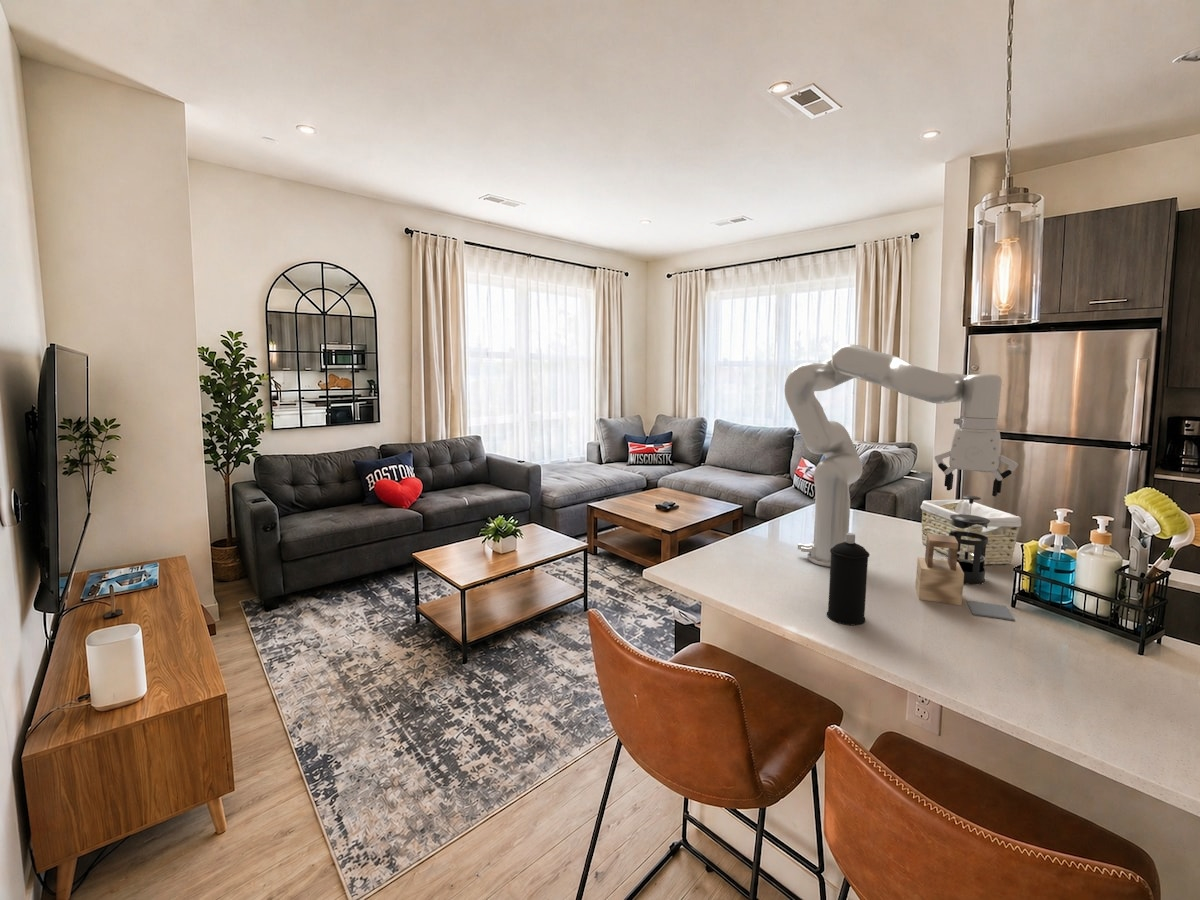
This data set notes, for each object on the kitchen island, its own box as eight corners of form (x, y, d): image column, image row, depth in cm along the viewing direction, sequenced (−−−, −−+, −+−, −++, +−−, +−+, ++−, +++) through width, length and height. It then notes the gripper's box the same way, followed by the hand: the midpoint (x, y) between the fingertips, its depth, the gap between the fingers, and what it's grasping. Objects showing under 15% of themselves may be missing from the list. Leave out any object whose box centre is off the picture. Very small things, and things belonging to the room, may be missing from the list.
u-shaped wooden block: (927, 567, 138) (929, 540, 137) (924, 559, 143) (926, 533, 142) (955, 570, 135) (958, 543, 134) (952, 563, 140) (954, 536, 139)
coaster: (972, 614, 129) (972, 613, 129) (966, 601, 136) (966, 600, 136) (1014, 620, 126) (1014, 619, 126) (1005, 607, 133) (1006, 605, 133)
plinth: (918, 599, 138) (921, 568, 137) (915, 586, 146) (917, 557, 145) (961, 605, 134) (964, 573, 133) (955, 591, 142) (958, 562, 141)
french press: (995, 585, 146) (1003, 500, 143) (958, 585, 146) (966, 500, 143) (967, 569, 158) (974, 491, 154) (933, 569, 158) (940, 491, 155)
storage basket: (915, 542, 183) (918, 499, 181) (963, 541, 184) (967, 498, 182) (965, 567, 160) (969, 518, 158) (1019, 566, 160) (1025, 517, 158)
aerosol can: (862, 628, 122) (868, 541, 120) (823, 620, 127) (827, 535, 124) (867, 614, 129) (872, 532, 127) (829, 607, 134) (834, 527, 131)
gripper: (934, 423, 139) (928, 489, 142) (1020, 428, 128) (1012, 500, 130) (941, 421, 145) (935, 485, 147) (1024, 425, 133) (1016, 495, 136)
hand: (971, 492), depth 139 cm, fingers open, 9 cm apart
